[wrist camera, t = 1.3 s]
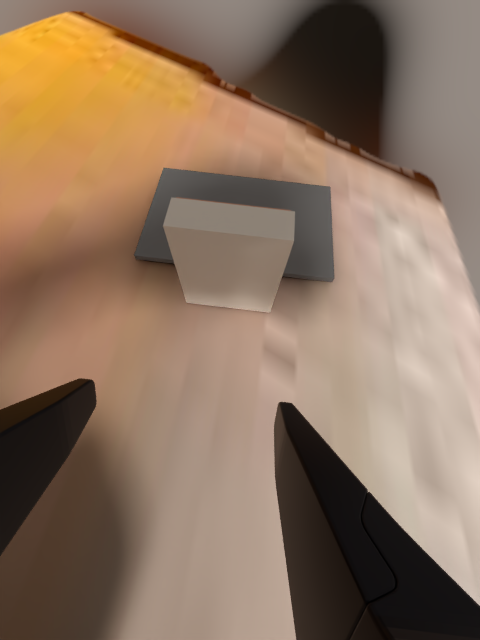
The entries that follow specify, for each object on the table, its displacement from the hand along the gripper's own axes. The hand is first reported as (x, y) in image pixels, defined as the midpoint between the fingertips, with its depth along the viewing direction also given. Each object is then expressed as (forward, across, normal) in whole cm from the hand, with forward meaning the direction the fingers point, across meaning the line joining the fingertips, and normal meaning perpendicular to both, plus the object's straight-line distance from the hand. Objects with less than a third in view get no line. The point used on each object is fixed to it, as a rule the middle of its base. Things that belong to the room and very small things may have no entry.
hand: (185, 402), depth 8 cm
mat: (+24, 0, -5) cm, 25 cm away
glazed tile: (+18, 0, +2) cm, 18 cm away
